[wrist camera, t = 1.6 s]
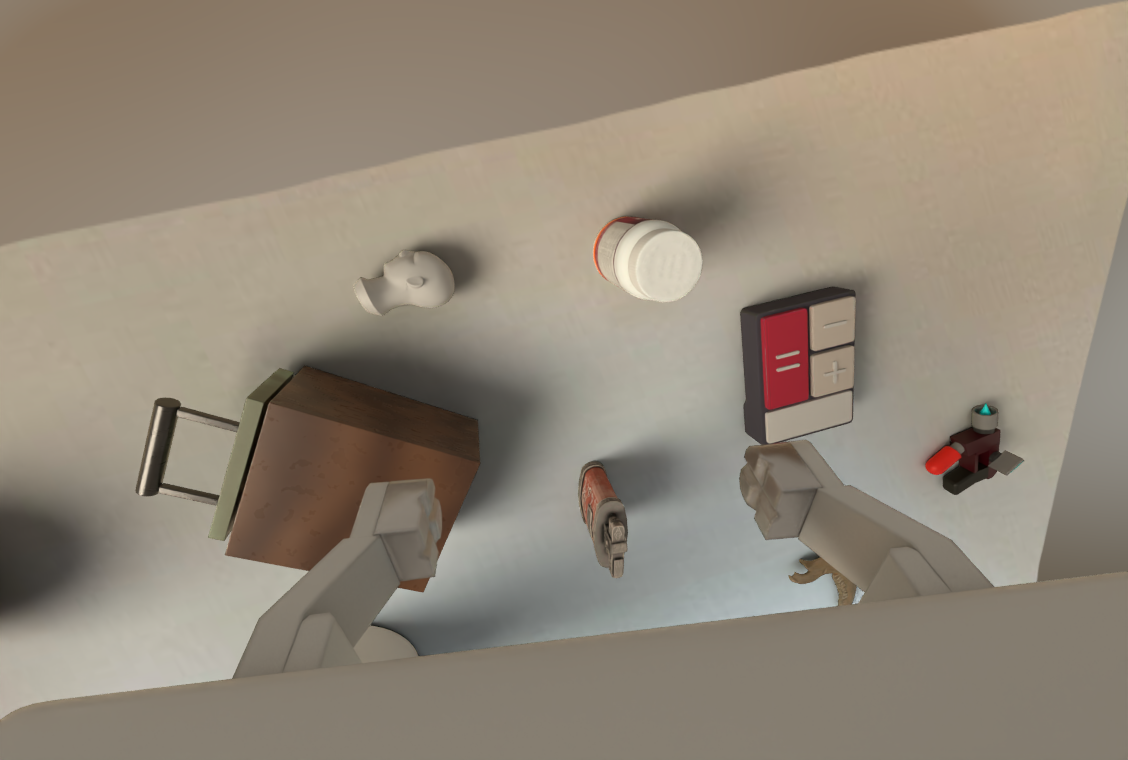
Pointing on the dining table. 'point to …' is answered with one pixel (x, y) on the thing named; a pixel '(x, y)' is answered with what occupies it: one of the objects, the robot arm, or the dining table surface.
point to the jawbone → (821, 568)
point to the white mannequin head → (407, 283)
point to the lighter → (603, 517)
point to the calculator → (798, 364)
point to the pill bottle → (648, 258)
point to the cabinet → (344, 466)
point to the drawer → (240, 457)
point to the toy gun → (973, 453)
